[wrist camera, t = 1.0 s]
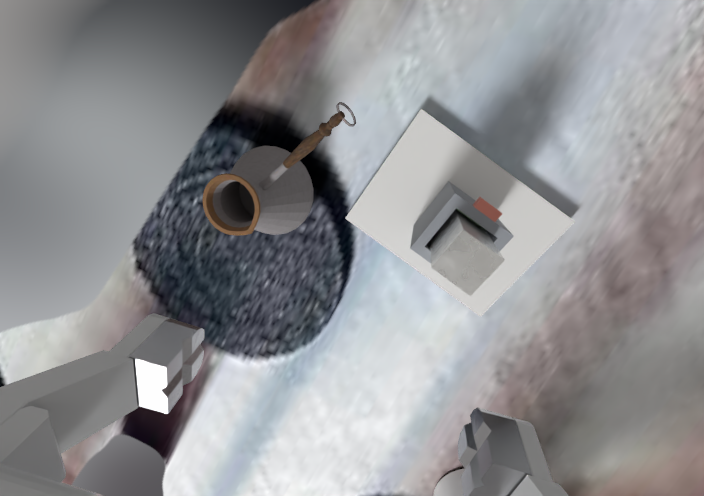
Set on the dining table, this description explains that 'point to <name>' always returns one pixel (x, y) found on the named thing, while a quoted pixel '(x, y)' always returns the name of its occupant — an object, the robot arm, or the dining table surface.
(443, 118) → the dining table surface
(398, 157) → the stand
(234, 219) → the coffee pot
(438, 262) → the column
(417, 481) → the dining table surface
